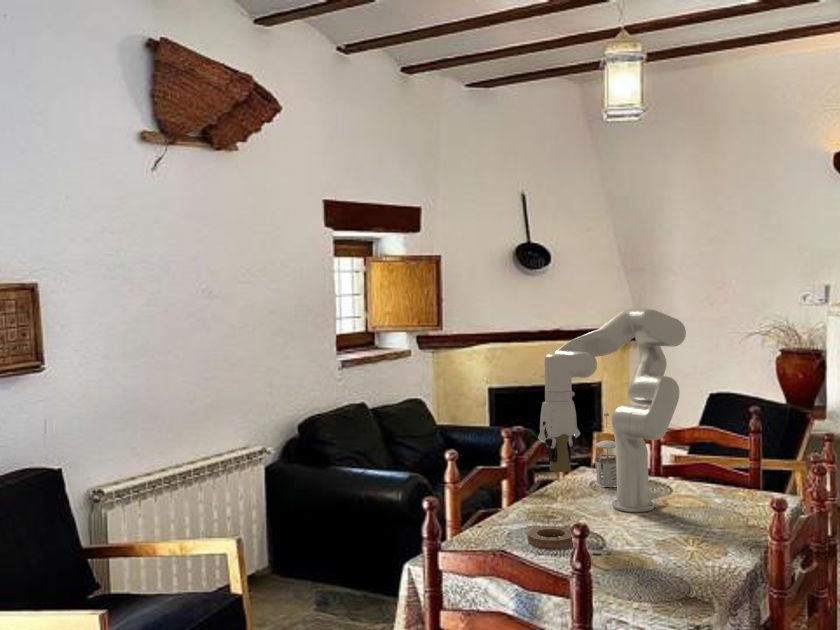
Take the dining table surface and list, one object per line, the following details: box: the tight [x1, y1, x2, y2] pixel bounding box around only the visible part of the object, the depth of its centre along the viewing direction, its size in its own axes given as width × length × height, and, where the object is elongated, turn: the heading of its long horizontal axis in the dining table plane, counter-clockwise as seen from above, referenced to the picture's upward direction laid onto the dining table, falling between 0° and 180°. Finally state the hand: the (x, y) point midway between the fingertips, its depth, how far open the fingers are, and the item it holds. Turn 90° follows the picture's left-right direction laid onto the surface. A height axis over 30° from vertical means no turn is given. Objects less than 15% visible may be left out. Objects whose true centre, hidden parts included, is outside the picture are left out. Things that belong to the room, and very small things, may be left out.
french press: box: [594, 412, 617, 487], centre depth 282 cm, size 10×12×25 cm
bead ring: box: [526, 525, 573, 549], centre depth 225 cm, size 13×13×2 cm
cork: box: [549, 434, 572, 473], centre depth 235 cm, size 6×6×11 cm
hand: (559, 459), depth 235 cm, fingers closed on cork, 4 cm apart
